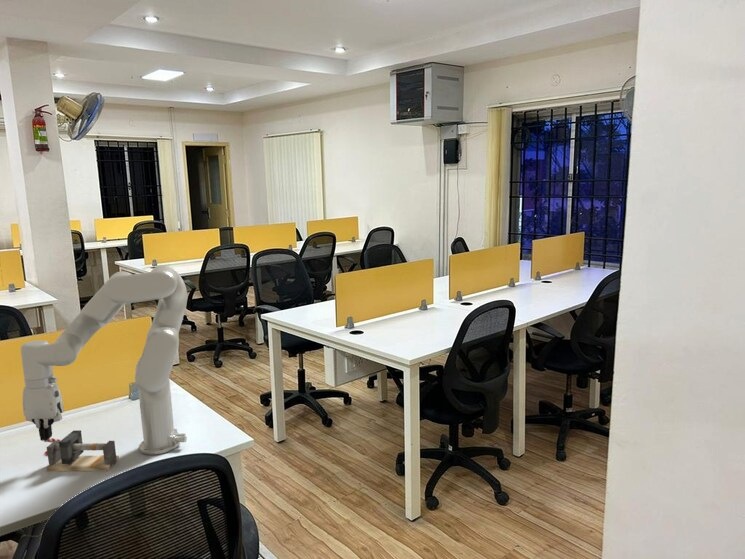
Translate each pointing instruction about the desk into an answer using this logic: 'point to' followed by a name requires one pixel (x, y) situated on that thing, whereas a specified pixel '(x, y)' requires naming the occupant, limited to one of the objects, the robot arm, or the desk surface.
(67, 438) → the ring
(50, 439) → the candy cane
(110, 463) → the rail fixture
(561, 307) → the desk surface
